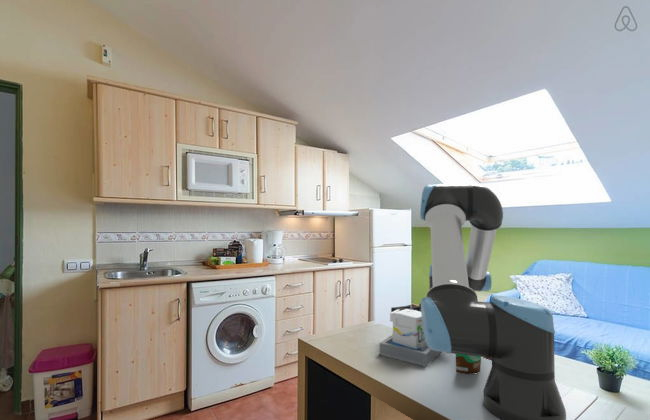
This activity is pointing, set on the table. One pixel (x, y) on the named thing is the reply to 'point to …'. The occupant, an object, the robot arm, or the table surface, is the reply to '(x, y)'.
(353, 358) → the table surface
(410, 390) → the table surface
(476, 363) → the food container
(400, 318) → the ink box
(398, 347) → the housing tray
